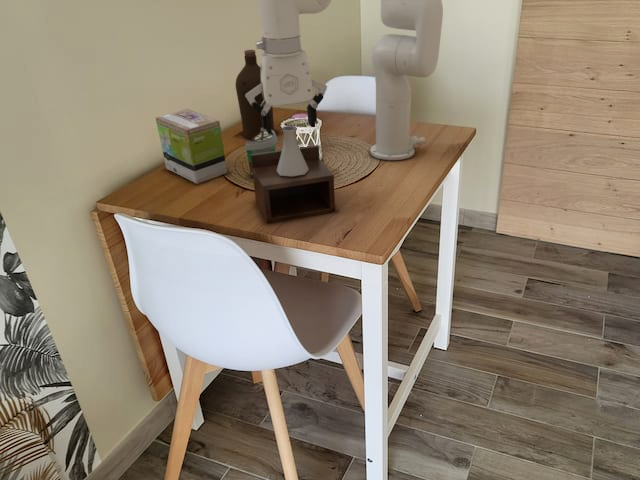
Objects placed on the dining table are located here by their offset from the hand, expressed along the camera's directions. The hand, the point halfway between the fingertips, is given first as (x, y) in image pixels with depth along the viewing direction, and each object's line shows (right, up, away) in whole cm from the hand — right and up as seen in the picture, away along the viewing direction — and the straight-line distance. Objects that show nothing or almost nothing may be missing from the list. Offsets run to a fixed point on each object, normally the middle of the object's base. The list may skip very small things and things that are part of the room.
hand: (290, 128), depth 124 cm
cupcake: (-1, +5, +44) cm, 44 cm away
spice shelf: (0, -16, +10) cm, 19 cm away
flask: (0, -9, +5) cm, 10 cm away
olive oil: (-16, +12, +55) cm, 58 cm away
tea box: (-29, -5, +29) cm, 41 cm away
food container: (-9, -4, +29) cm, 31 cm away
